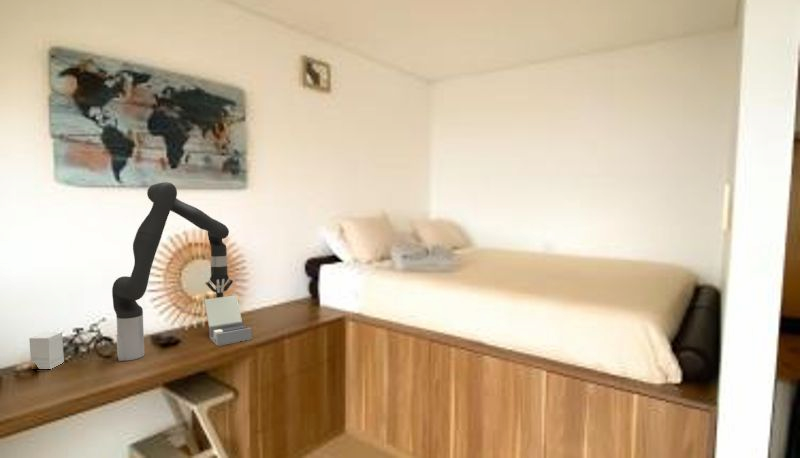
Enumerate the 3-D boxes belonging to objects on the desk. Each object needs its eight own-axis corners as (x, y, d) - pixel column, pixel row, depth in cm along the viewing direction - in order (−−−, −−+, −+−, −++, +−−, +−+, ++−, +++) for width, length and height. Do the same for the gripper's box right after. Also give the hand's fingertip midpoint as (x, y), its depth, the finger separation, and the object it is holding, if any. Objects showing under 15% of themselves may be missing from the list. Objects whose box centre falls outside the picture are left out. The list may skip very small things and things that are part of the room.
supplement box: (64, 363, 173) (63, 331, 173) (49, 370, 166) (48, 338, 165) (46, 363, 173) (44, 331, 173) (30, 370, 166) (28, 337, 165)
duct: (217, 346, 194) (217, 334, 194) (209, 338, 205) (209, 326, 204) (251, 339, 203) (251, 328, 203) (242, 332, 214) (241, 321, 214)
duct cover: (205, 299, 209) (204, 300, 210) (209, 326, 204) (208, 327, 205) (237, 295, 218) (236, 295, 219) (241, 321, 214) (241, 321, 214)
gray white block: (247, 335, 207) (247, 327, 206) (216, 341, 198) (215, 332, 198) (244, 333, 210) (244, 325, 210) (213, 339, 201) (213, 330, 201)
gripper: (206, 267, 207) (207, 303, 208) (235, 264, 215) (235, 299, 217) (202, 265, 213) (203, 300, 214) (230, 262, 221) (231, 296, 222)
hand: (219, 299), depth 215 cm, fingers closed
